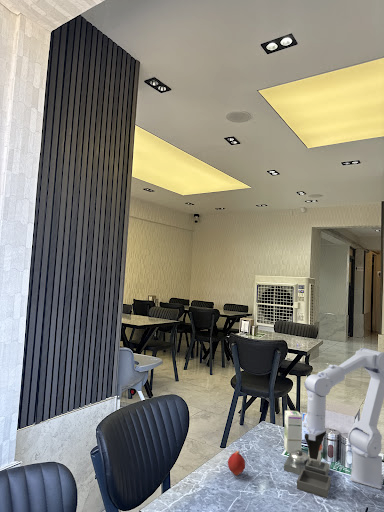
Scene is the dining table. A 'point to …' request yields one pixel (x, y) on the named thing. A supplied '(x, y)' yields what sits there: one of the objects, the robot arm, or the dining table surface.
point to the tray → (314, 483)
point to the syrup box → (292, 431)
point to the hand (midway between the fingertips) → (314, 455)
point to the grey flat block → (303, 464)
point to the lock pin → (313, 461)
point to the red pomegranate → (236, 463)
